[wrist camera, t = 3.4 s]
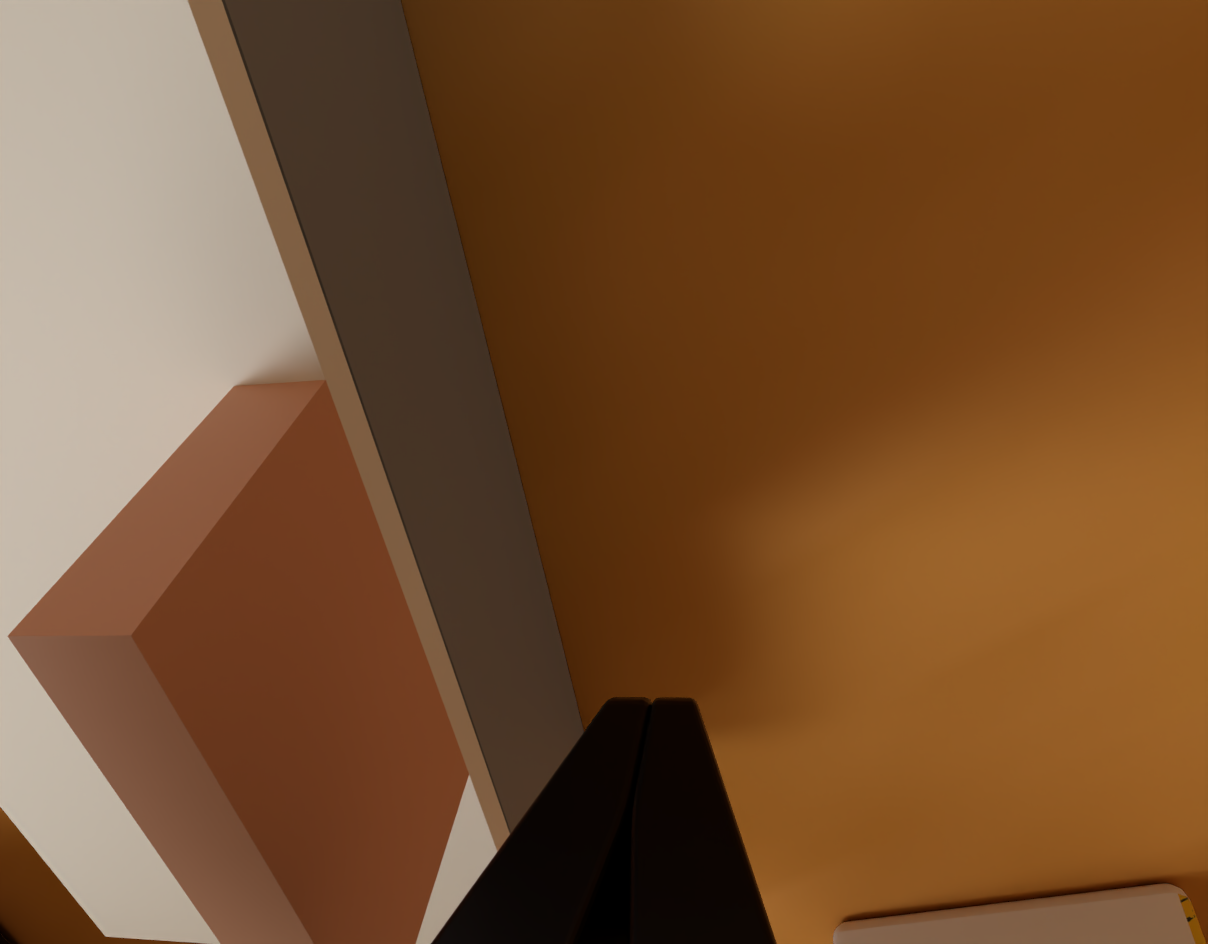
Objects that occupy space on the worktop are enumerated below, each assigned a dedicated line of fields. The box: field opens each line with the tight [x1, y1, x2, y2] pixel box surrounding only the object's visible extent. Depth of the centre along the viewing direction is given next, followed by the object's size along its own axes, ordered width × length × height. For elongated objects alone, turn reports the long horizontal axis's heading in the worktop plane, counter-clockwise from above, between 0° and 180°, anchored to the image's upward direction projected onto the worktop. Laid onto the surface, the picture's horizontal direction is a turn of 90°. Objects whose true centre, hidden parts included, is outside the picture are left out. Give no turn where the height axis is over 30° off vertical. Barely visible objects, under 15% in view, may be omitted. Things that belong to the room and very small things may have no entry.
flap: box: [0, 0, 510, 944], centre depth 11 cm, size 16×8×4 cm, turn 9°
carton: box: [222, 0, 584, 834], centre depth 14 cm, size 16×8×4 cm, turn 9°
